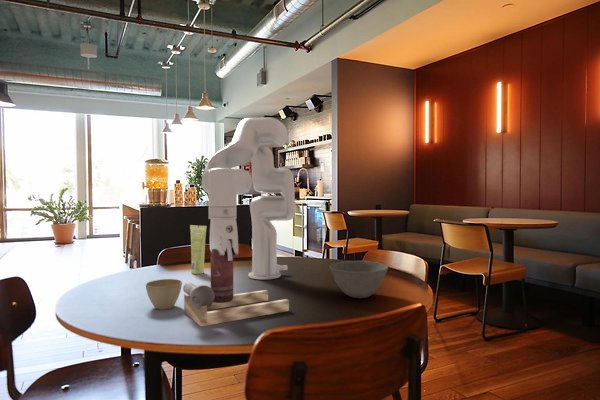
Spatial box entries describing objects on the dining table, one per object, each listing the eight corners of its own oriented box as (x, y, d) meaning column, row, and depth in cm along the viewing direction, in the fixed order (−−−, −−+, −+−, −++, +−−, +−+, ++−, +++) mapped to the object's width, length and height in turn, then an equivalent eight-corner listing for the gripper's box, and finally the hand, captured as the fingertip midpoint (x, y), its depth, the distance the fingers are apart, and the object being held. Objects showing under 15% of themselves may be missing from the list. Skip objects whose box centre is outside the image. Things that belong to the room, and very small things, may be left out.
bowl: (352, 286, 145) (353, 258, 145) (399, 296, 132) (399, 265, 132) (316, 296, 132) (316, 265, 132) (364, 308, 119) (364, 273, 119)
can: (229, 303, 108) (229, 251, 108) (206, 302, 110) (206, 250, 109) (237, 298, 114) (237, 248, 114) (216, 296, 116) (216, 247, 115)
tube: (203, 271, 171) (203, 224, 171) (206, 273, 166) (206, 225, 166) (190, 272, 169) (190, 225, 168) (192, 274, 164) (192, 226, 164)
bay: (265, 299, 128) (266, 267, 128) (292, 312, 114) (292, 276, 114) (176, 313, 113) (176, 277, 113) (194, 330, 100) (194, 289, 99)
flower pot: (151, 302, 124) (151, 279, 123) (185, 302, 124) (185, 278, 124) (141, 312, 114) (141, 286, 114) (178, 311, 114) (177, 286, 114)
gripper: (246, 214, 108) (246, 283, 108) (225, 211, 120) (225, 274, 121) (219, 215, 104) (219, 287, 104) (200, 212, 116) (200, 276, 117)
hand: (222, 280), depth 112 cm, fingers closed
